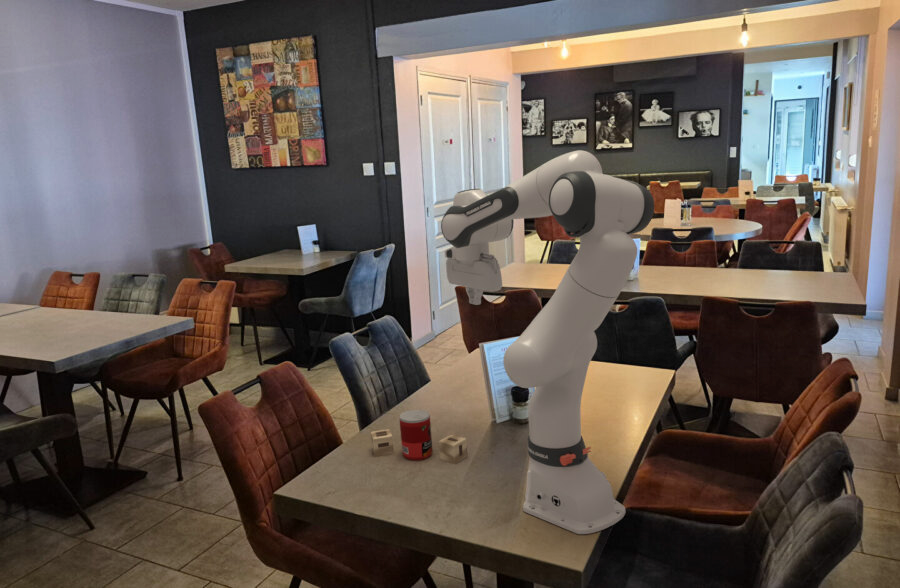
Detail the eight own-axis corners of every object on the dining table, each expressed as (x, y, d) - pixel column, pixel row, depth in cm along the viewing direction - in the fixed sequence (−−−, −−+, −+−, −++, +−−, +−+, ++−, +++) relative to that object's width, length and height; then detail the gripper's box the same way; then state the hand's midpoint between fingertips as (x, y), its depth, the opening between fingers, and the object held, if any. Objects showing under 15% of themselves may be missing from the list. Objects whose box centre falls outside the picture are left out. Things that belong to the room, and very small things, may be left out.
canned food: (429, 461, 166) (425, 420, 163) (399, 460, 167) (395, 420, 165) (435, 448, 173) (432, 409, 171) (406, 447, 175) (403, 409, 172)
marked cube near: (468, 457, 167) (466, 438, 166) (455, 464, 163) (453, 445, 162) (452, 452, 170) (451, 433, 169) (440, 459, 167) (438, 440, 166)
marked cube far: (393, 454, 171) (392, 435, 170) (375, 457, 170) (373, 438, 169) (391, 446, 176) (389, 428, 175) (372, 449, 175) (370, 431, 174)
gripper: (506, 253, 162) (509, 307, 165) (460, 247, 179) (463, 296, 182) (486, 257, 159) (489, 312, 162) (441, 250, 176) (444, 300, 178)
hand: (475, 303), depth 172 cm, fingers closed
